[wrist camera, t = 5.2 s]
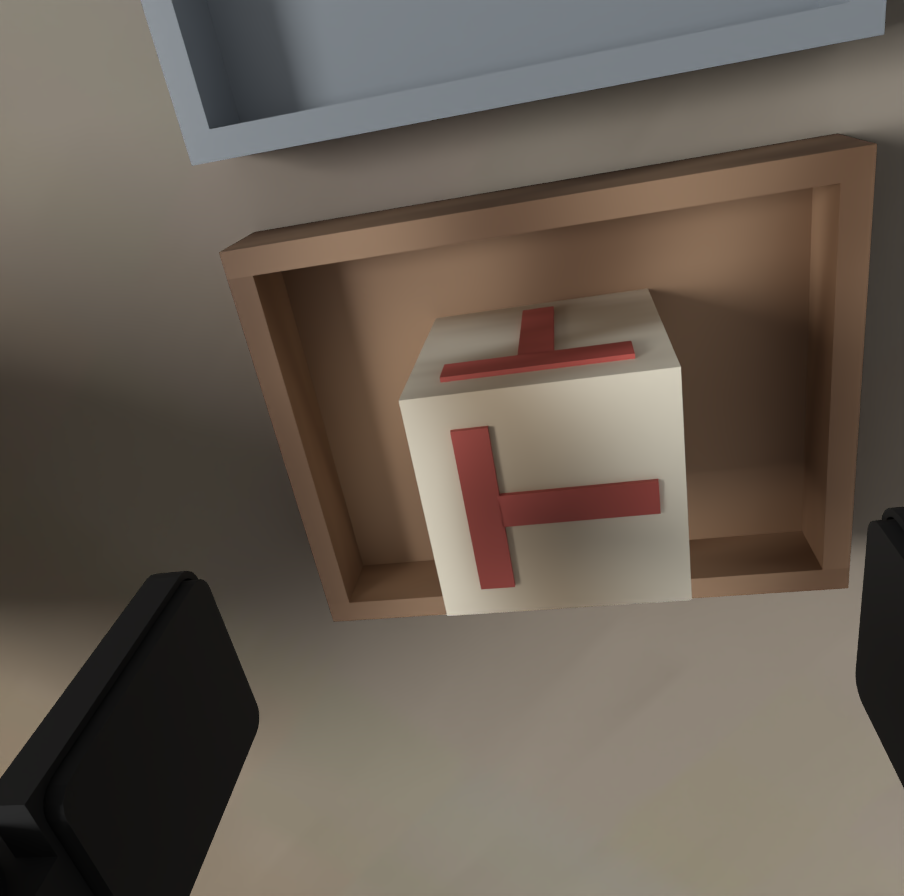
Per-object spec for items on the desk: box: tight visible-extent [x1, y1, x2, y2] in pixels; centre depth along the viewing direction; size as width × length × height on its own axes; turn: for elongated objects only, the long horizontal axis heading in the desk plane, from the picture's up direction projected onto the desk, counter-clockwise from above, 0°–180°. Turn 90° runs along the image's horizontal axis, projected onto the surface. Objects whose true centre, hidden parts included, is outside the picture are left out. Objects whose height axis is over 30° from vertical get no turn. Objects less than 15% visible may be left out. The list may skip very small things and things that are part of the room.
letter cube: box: [399, 289, 692, 616], centre depth 17 cm, size 5×5×5 cm
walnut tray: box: [219, 134, 877, 622], centre depth 18 cm, size 13×10×2 cm
